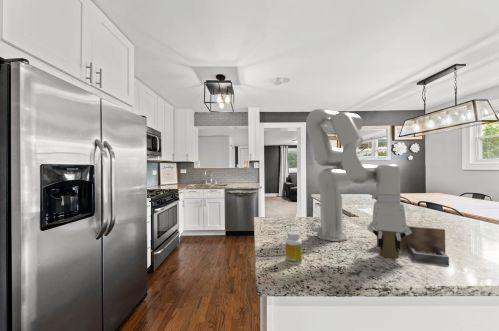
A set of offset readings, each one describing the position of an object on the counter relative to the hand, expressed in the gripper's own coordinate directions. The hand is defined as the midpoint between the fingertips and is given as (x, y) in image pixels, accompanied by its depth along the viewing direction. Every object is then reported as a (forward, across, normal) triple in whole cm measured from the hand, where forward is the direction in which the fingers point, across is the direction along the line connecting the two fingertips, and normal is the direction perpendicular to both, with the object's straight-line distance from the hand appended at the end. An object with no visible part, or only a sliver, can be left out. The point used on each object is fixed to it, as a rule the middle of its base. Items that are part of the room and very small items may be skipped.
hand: (388, 249), depth 85 cm
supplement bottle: (+3, -30, -19) cm, 36 cm away
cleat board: (+2, +8, +5) cm, 10 cm away
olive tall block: (+3, 0, 0) cm, 3 cm away
